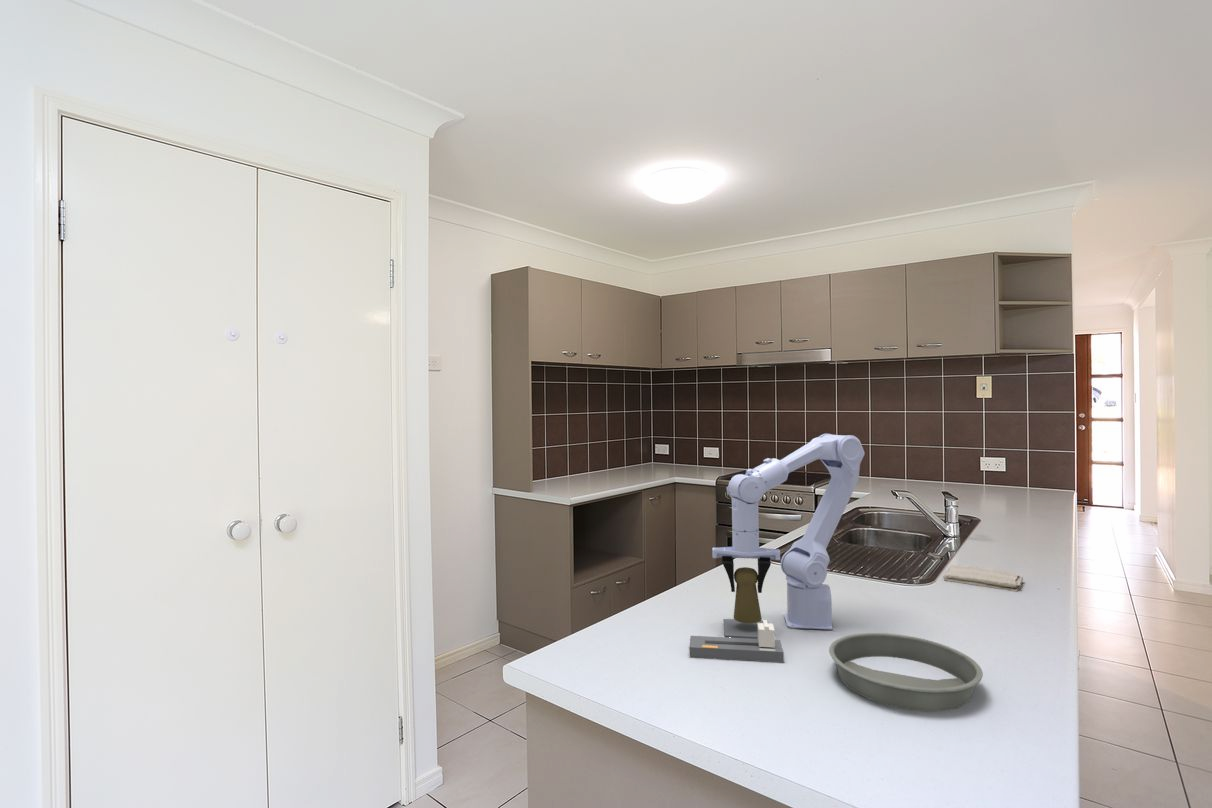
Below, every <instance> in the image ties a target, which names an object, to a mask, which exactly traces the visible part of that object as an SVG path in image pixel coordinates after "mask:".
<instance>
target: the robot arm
mask: <svg viewBox="0 0 1212 808" xmlns="http://www.w3.org/2000/svg"><path fill="white" fill-rule="evenodd" d="M865 454H866V453H865V450H864V448H863V446H862V442H861V440H860V439H859V438H858V437H856V436H855V435H852V434H851V435H849V434H848V435H843V434H840V435H839V434H831V433H823V434H821V435H819V436H817V437H815V438H812V439H811V440H810V441H809V442H808V443H806V444H805V445H802V446H801V447H800V448H798V449H796V450H795V451H793V452H791V453H789V454H788V455H786V456H785V457H782V458H781V459H778V458H774V457H773V458H769V457H767V458H765V459H763V461H762V462H763V463H761V464H760V465H758V466H755V467H754V468H748V469H746V470H745V474H742V473H741V474H736V475H733V476H732V477H731V479H730V480H729V482H728V486H726V492H727V494H728V496H729V497H730V499H731V522H732V523H731V525H732V526H731V528H732V531H731V532H732V533H731V534H732V535H731V536H732V537H731V538H732V539H731V541H732V544H731V545H732V546H724V547H723V546H722V547H712V554H711V555H712V559H718V558H721V563H722V566H723V567H724V570H725V573H726V574H727V577H728V581H729V583H730V588H731V589H730V590H731V592H733V593H736V590H735V589H736V588H735V579H734V572H735V571H734V570H735V569H734V568H735V564H734V559H752V560H753V559H757V574H758V581H757V594H758V593H759V594H762V593H763V586H764V582H765V578H766V575H767V573H768V571H769V569H770V567H771V564H772V562H771V560H774V561H780V568H781V570H782V572H783V574H784V575H785V577H786V578H785V580H786V595H787V596H786V598H787V603H786V604H787V611H786V612H787V613H784V614H783V617H784V619H785V623H786V625H787V627H788V629H789V628H790V629H808V630H811V629H812V630H833V613H832V612H833V609H832V606H833V604H832V592H831V587H830V585H829V584H824V582H825V581H826V578H827V576H828V575H827V573H828V566H829V563H830V561H831V559H830V556H829V554H828V551H827V547H828V546H829V544H830V542H831V539H832V538H833V535H834V534H835V531H836V528H837V527H838V525H839V522H840V521H841V518H842V516H843V514H844V512H845V509H846V507H847V505H848V503H849V501H850V499H851V497H852V495H853V494H854V490H855V489H856V486H857V485H858V481H859V478H860V468H861V463H862V461H863V458H864V457H865ZM817 460H820V461H821V462H822V464H823V465H824V466H825V468H826V469H827V471H828V472H829V475H830V480H829V482H828V485H827V487H826V488H825V491H824V493H823V495H822V497H821V498H820V501H819V503H818V505H817V507H816V509H815V511H814V513H813V516H812V518H811V519H810V522H809V524H808V526H807V528H806V530H805V533H804V534H803V536H802V537H801V538H799V539H798V540H796V541H794V542H793V543H792V544H791V547H790V548H789V549H788V550H787V551H786V552H784V554H783V555H782V556H781V551H780V549H779V548H765V547H760V539H759V537H760V534H759V533H760V529H759V527H760V526H759V521H760V520H759V501H760V500H762V498H763V496H764V494H765V493H767V492H768V491H771V490H772V489H774V488H776V487H778V486H779V485H781V484H783V483H784V482H786V481H787V480H788V476H789V474H790V473H792V472H794V471H796V470H798V469H800V468H803V467H804V466H807V465H809V464H810V463H813V462H814V461H815V462H816V461H817Z"/></svg>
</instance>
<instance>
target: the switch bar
mask: <svg viewBox="0 0 1212 808" xmlns="http://www.w3.org/2000/svg"><path fill="white" fill-rule="evenodd" d="M784 654H785V652H784V649H783V646H782V642H781V639H775V648H773V647H759V644H758V639H749V638H729V637H724V636H705V635H704V636H703V635H690V639H689V658H695V659H696V658H699V659H713V658H716V659H715V660H717V659H718V660H731V659H732V660H733V661H734V660H735V661H751V660H752V661H754V662H767V661H770V663H771V662H773V663H785V662H784V659H785V658H784V656H785V655H784ZM732 660H731V661H732ZM752 661H751V662H752Z"/></svg>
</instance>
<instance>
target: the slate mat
mask: <svg viewBox="0 0 1212 808" xmlns="http://www.w3.org/2000/svg"><path fill="white" fill-rule="evenodd" d="M722 620H723V622H724V623H723V637H731V638H749V639H758V628H757V623H763V619H761V621H759V622H757V623H742V622H738V621H736V620H735V619H734V618H723V619H722ZM767 622H768V623H769V620H767Z"/></svg>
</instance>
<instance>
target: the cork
mask: <svg viewBox="0 0 1212 808" xmlns="http://www.w3.org/2000/svg"><path fill="white" fill-rule="evenodd" d="M734 583H736V588H735V589H736V590H735V598H734V599H735V601H734V607H733V608H734V609H733V619H735V620H736V621H738V622H742V623H757V622H759V621H761V620H763V619H762V611H761V608H760V601H759V595H758V587H757V584H758V571H756V569H755V568H751V567H747V566H745V567H744V566H743V567H739V568H737V569H735V571H734Z"/></svg>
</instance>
